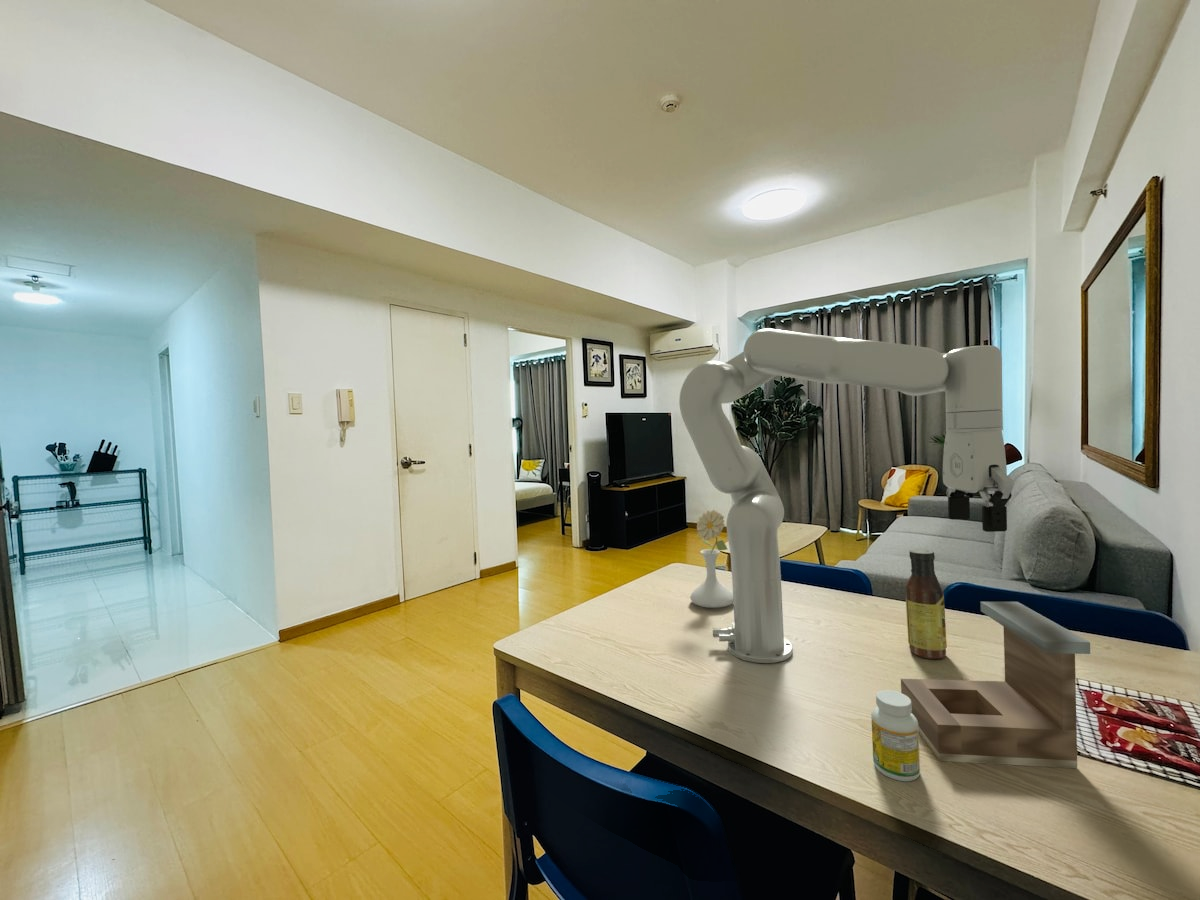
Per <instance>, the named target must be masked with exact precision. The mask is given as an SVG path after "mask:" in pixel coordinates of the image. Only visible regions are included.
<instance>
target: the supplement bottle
mask: <svg viewBox="0 0 1200 900" xmlns="http://www.w3.org/2000/svg"><path fill="white" fill-rule="evenodd" d="M875 697H876V699H875V703H876V706H874V708H873V709H872V711H871V714H870V715H871V716H870V717H871V734H872V735H871V737H872V738H871V739H872V742H871V743H872V758H873V759H872V760H873V764H874V766H875V768H877V770H878V772H879V773H881V774H883V775H884V776H885V777H888V778H889V779H892V780H895V781H899V782H911V781H914V780H916V779H918V777H919V776H920V774H921V764H920V763H921V760H920V741H919V739H920V738H919V737H920V734H919V729H918V721H917V719H916V717H915V716H914V715H913V714H912V713H911V712H912V704H911V700H910V698H909V697H907V696H906V695H904V694H902V693H901V691H900V692H899V691H896V690H891V689H882V690H878V691H877V693H876V694H875Z"/></svg>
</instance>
